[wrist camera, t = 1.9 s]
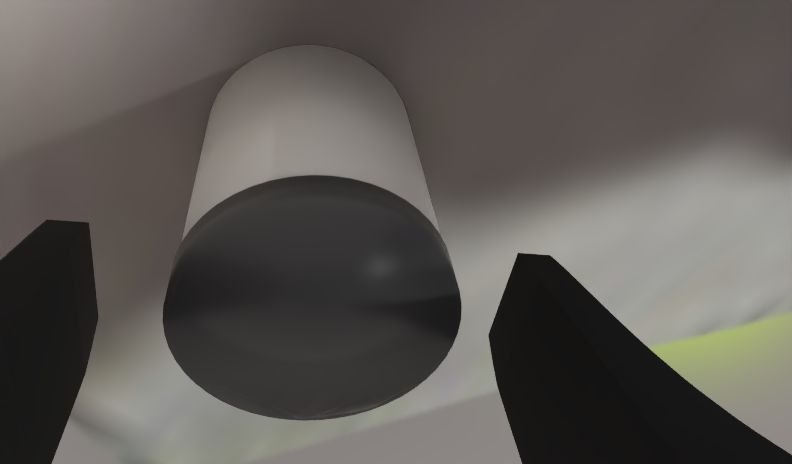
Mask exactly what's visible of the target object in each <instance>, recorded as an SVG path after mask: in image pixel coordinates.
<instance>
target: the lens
mask: <svg viewBox="0 0 792 464" xmlns="http://www.w3.org/2000/svg"><path fill="white" fill-rule="evenodd" d="M460 320H461V299H460V291H459V288H458V284H457V281H456V277H455V274H454V270H453V267H452V263H451V260H450V256H449V253H448V250H447V247H446V245H445V243H444V241H443V239H442V237H441V235H440V231H439V227H438V224H437V220H436V217H435V213H434V209H433V206H432V202H431V199H430V195H429V191H428V188H427V184H426V180H425V177H424V173H423V170H422V166H421V162H420V159H419V155H418V152H417V148H416V144H415V141H414V137H413V133H412V130H411V126H410V123H409V119H408V116H407V112H406V109H405V106H404V104H403V102H402V100H401V98H400V96H399V94H398V92H397V91H396V89H395V88H394V86H393V85H392V84H391V82H390V81H389V80H388V79H387V78H386V77H385V76H384V75H383V74H382V73H381V72H380V71H379V70H377V69H376V68H375V67H374V66H372V65H371V64H369V63H368V62H366V61H365V60H363V59H361V58H359V57H357V56H355V55H353V54H351V53H348V52H345V51H342V50H339V49H336V48H330V47H325V46H316V45H299V46H290V47H285V48H280V49H276V50H273V51H270V52H267V53H264V54H262V55H260V56H258V57H256V58H254V59H252V60H251V61H249V62H248V63H246V64H245V65H243V66H242V67H241V68H239V69H238V70H237V71H236V72H235V73H234V74H233V75H232V76H231V77H230V78H229V79H228V80H227V81H226V83H225V84H224V85H223V86H222V88H221V90H220V91H219V93H218V95H217V96H216V98H215V101H214V103H213V106H212V108H211V112H210V116H209V120H208V125H207V129H206V134H205V138H204V143H203V147H202V152H201V156H200V161H199V165H198V170H197V174H196V178H195V183H194V187H193V192H192V196H191V201H190V205H189V210H188V214H187V219H186V223H185V228H184V232H183V237H182V241H181V245H180V247H179V249H178V251H177V254H176V256H175V259H174V263H173V267H172V271H171V276H170V280H169V284H168V289H167V293H166V297H165V302H164V308H163V325H164V333H165V337H166V340H167V343H168V346H169V349H170V351H171V353H172V354H173V356H174V358H175V360H176V362H177V363H178V364H179V366H180V367H181V368H182V370H183V371H184V372H185V373H186V374H187V375H188V376H189V377H190V378H191V379H192V380H193V381H194V382H195V383H196V384H197V385H198V386H200V387H201V388H202V389H204V390H205V391H206V392H207V393H209V394H211V395H212V396H214V397H216V398H217V399H219V400H221V401H223V402H225V403H227V404H229V405H232V406H234V407H236V408H239V409H242V410H245V411H248V412H251V413H254V414H259V415H263V416H267V417H273V418H280V419H288V420H324V419H333V418H340V417H345V416H350V415H355V414H358V413H362V412H366V411H369V410H372V409H375V408H377V407H380V406H382V405H385V404H387V403H389V402H391V401H393V400H395V399H397V398H399V397H401V396H403V395H404V394H406V393H408V392H409V391H411V390H412V389H414V388H415V387H417V386H418V385H419V384H420V383H422V382H423V381H424V380H426V379H427V378H428V377H429V376H430V375H431V374H432V373H433V372H434V371H435V370H436V369H437V368H438V366H439V365H440V364H441V362H442V361H443V360H444V359H445V357H446V356H447V354H448V352H449V351H450V349H451V347H452V346H453V343H454V341H455V338H456V336H457V333H458V329H459V325H460Z"/></svg>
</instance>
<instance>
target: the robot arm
mask: <svg viewBox="0 0 792 464" xmlns="http://www.w3.org/2000/svg"><path fill="white" fill-rule="evenodd" d="M97 321H98V310H97V300H96V290H95V280H94V270H93V260H92V250H91V240H90V230H89V223H86V222H72V221H58V220H46V221H45V222H44V223H42V224H41V225H40V226H39V227H38V228H36V229H35V230H34V231H33V232H32V233H31V234H29V235H28V236H27V237H26V238H25V239H24V240H23V241H21V242H20V243H19V244H18V245H17V246H16V247H15V248H14V249H12V250H11V251H10V252H9V253H8V254H7V255H6V256H5V257H3V258H2V259H1V260H0V464H51V463H52V461H53V458H54V455H55V452H56V450H57V448H58V445H59V442H60V440H61V437H62V434H63V432H64V429H65V427H66V424H67V421H68V419H69V416H70V413H71V411H72V408H73V405H74V403H75V400H76V397H77V395H78V392H79V389H80V386H81V384H82V381H83V378H84V375H85V372H86V368H87V364H88V360H89V356H90V352H91V348H92V343H93V339H94V334H95V330H96V325H97ZM489 341H490V347H491V353H492V360H493V365H494V371H495V376H496V381H497V386H498V389H499V392H500V396H501V399H502V402H503V405H504V408H505V412H506V415H507V418H508V421H509V424H510V427H511V430H512V433H513V436H514V440H515V442H516V445H517V449H518V452H519V455H520V458H521V461H522V464H792V455H791V454H789V453H788V452H786V451H785V450H783V449H782V448H780V447H778V446H777V445H775V444H773V443H772V442H771V441H769V440H768V439H766V438H765V437H763V436H761V435H760V434H758V433H757V432H755V431H754V430H752V429H751V428H749V427H748V426H747V425H745V424H744V423H742V422H741V421H739V420H738V419H737V418H735V417H734V416H732V415H731V414H730V413H728V412H727V411H726V410H724V409H723V408H722V407H720V406H719V405H718V404H716V403H715V402H714V401H712V400H711V399H710V398H708V397H707V396H705V395H704V394H703V393H702V392H700V391H699V390H698V389H696V388H695V387H694V386H693V385H691V384H690V383H689V382H688V381H686V380H685V379H684V378H683V377H681V376H680V375H679V374H678V373H677V372H676V371H674V370H673V369H672V368H671V367H670V366H668V365H667V364H666V363H665V362H664V361H663V360H661V359H660V358H659V357H658V356H657V355H656V354H655V353H653V352H652V351H651V350H650V349H649V348H648V347H647V346H646V345H644V344H643V343H642V342H641V341H640V340H639V339H638V338H637V337H636V336H635V335H633V334H632V333H631V332H630V331H629V330H628V329H627V328H626V327H625V326H624V325H623V324H622V323H621V322H620V321H619V320H617V319H616V318H615V317H614V316H613V315H612V314H611V313H610V312H609V311H608V310H607V309H606V308H605V307H604V306H603V305H602V304H601V303H600V302H599V301H598V300H597V299H596V298H595V297H594V296H593V295H592V294H591V293H590V292H588V291H587V290H586V289H585V288H584V287H583V286H582V285H581V284H580V283H579V282H578V281H577V280H576V279H575V278H574V277H573V276H572V275H571V274H570V273H569V272H568V271H567V270H566V269H565V268H564V267H562V266H561V265H560V264H559V263H558V262H557V261H556V260H555V259H553V258H552V257H551V256H550V255H537V254H523V253H518V255H517V258H516V260H515V263H514V266H513V269H512V271H511V274H510V277H509V280H508V282H507V285H506V288H505V291H504V294H503V296H502V299H501V302H500V305H499V307H498V310H497V313H496V316H495V318H494V321H493V324H492V327H491V329H490V332H489Z"/></svg>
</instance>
